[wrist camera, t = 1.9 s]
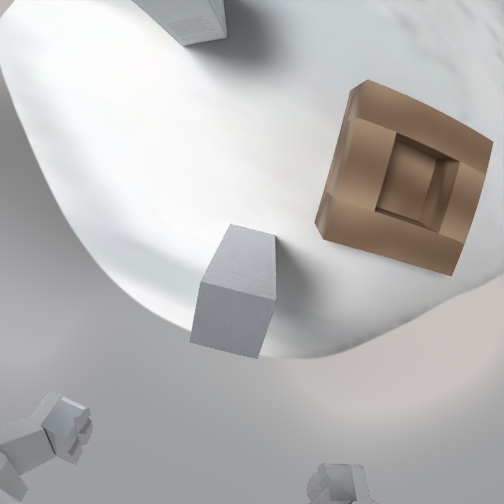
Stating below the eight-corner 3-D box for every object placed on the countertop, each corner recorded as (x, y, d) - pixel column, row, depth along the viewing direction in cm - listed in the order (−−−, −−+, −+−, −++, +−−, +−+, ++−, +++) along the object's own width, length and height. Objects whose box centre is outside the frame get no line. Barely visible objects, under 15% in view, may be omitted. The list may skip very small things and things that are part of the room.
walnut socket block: (350, 90, 23) (367, 79, 18) (462, 139, 23) (493, 141, 18) (314, 222, 27) (323, 239, 22) (427, 256, 27) (451, 276, 22)
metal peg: (230, 224, 27) (200, 281, 16) (275, 235, 27) (276, 300, 16) (220, 265, 29) (189, 342, 17) (263, 276, 29) (257, 358, 17)
